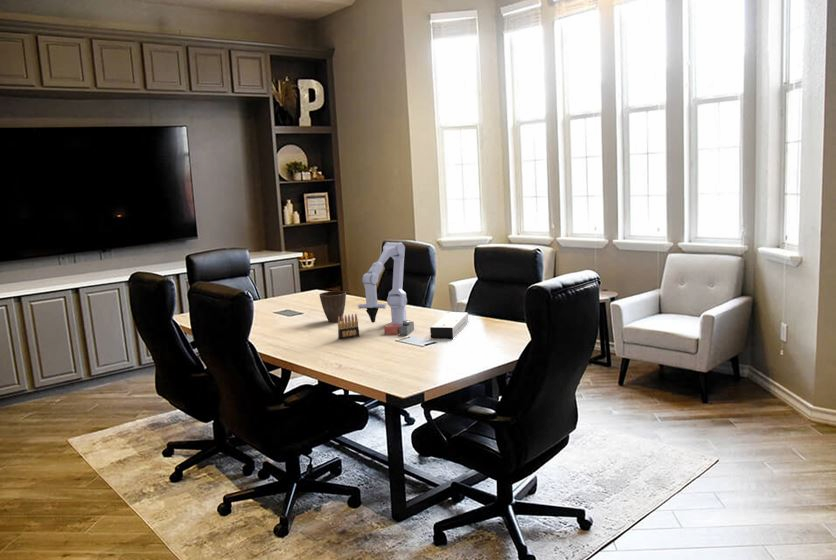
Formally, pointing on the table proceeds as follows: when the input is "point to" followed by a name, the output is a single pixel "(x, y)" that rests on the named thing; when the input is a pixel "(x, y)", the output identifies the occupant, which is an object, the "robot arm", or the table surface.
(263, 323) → the table surface
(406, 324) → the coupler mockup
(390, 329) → the red block
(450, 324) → the laminator
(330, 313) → the plant pot
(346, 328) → the ammunition clip
